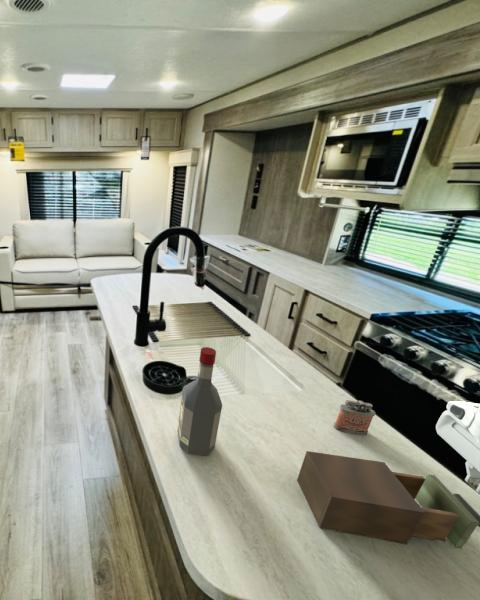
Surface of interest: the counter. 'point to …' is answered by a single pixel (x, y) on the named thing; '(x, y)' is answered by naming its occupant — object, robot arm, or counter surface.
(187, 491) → the counter surface
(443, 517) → the drawer
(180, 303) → the counter surface
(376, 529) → the cabinet
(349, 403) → the small labelled tin can
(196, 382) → the liquor
